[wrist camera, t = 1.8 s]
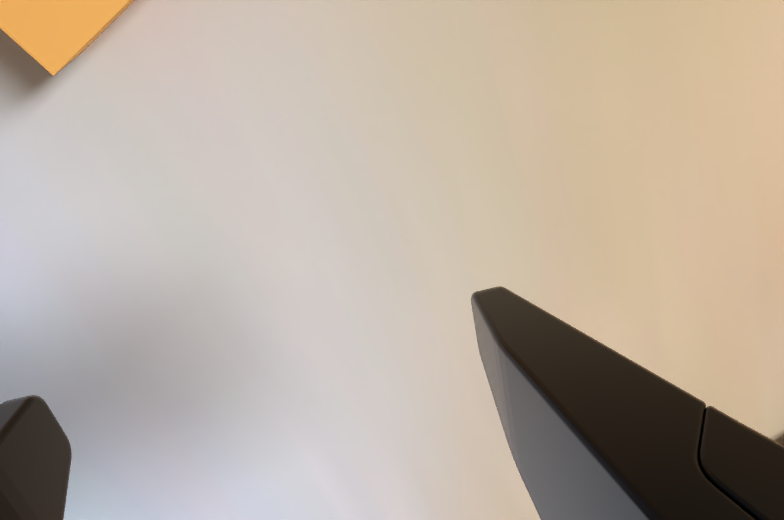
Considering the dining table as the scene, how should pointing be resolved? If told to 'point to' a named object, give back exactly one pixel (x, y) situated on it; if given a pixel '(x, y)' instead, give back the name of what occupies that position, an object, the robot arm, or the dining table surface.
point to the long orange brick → (57, 26)
